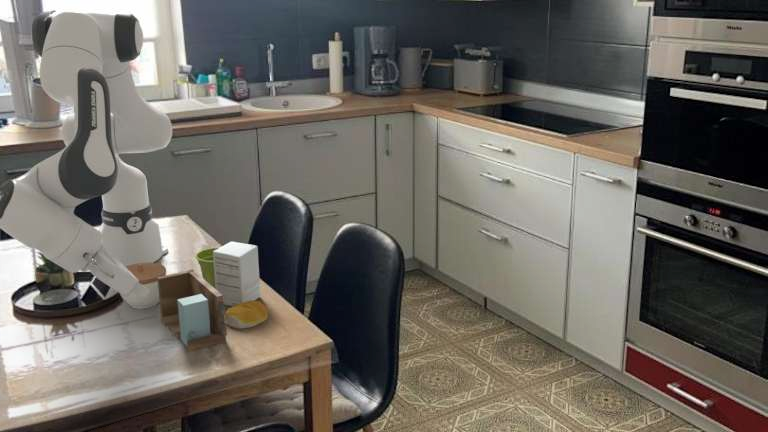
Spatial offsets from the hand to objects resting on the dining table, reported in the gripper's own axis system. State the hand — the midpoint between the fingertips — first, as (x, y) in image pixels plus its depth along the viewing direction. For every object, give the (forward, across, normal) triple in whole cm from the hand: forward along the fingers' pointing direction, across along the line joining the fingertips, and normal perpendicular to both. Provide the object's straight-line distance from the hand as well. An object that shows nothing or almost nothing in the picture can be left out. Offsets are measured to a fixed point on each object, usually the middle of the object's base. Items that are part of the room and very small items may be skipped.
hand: (138, 285), depth 146 cm
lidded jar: (+16, +24, +5) cm, 29 cm away
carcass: (+18, +4, +2) cm, 19 cm away
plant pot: (+28, +22, -7) cm, 36 cm away
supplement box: (+28, +13, -8) cm, 32 cm away
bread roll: (+27, +3, -5) cm, 27 cm away
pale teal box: (+18, 0, +3) cm, 18 cm away
